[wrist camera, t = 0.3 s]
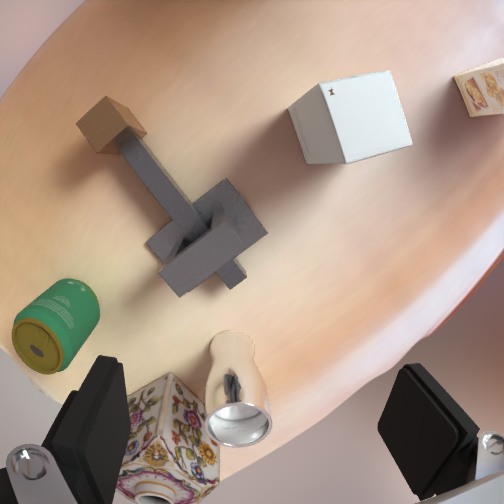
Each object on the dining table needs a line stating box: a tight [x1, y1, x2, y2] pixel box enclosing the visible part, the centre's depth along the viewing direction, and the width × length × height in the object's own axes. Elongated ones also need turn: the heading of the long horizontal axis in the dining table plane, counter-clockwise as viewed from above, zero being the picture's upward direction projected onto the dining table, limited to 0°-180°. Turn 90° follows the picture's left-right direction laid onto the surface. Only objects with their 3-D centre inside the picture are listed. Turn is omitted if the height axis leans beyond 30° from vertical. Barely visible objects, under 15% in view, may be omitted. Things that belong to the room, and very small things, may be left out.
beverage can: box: [12, 279, 100, 374], centre depth 33 cm, size 8×8×12 cm
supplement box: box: [288, 71, 413, 164], centre depth 30 cm, size 7×7×13 cm
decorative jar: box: [115, 372, 220, 504], centre depth 36 cm, size 12×12×18 cm
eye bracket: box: [146, 178, 268, 298], centre depth 33 cm, size 12×8×10 cm, turn 126°
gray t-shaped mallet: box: [76, 96, 247, 289], centre depth 33 cm, size 4×24×8 cm, turn 37°
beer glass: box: [203, 330, 272, 447], centre depth 35 cm, size 7×7×15 cm
